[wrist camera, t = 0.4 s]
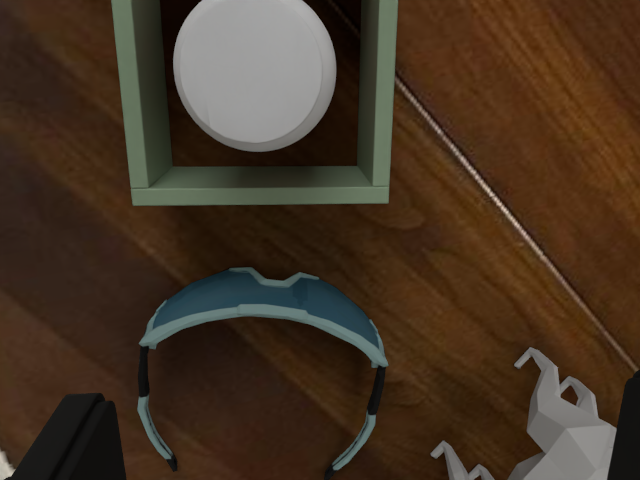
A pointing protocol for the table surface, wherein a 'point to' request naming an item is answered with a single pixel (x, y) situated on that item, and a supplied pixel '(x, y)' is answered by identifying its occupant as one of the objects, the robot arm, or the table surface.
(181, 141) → the table surface
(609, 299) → the table surface
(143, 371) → the sunglasses
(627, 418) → the robot arm
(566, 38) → the table surface
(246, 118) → the pill bottle
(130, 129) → the bin
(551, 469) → the grey dog statue
